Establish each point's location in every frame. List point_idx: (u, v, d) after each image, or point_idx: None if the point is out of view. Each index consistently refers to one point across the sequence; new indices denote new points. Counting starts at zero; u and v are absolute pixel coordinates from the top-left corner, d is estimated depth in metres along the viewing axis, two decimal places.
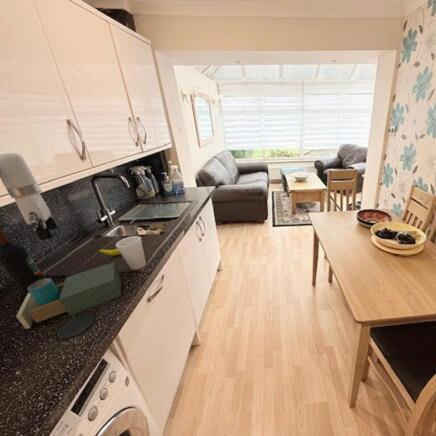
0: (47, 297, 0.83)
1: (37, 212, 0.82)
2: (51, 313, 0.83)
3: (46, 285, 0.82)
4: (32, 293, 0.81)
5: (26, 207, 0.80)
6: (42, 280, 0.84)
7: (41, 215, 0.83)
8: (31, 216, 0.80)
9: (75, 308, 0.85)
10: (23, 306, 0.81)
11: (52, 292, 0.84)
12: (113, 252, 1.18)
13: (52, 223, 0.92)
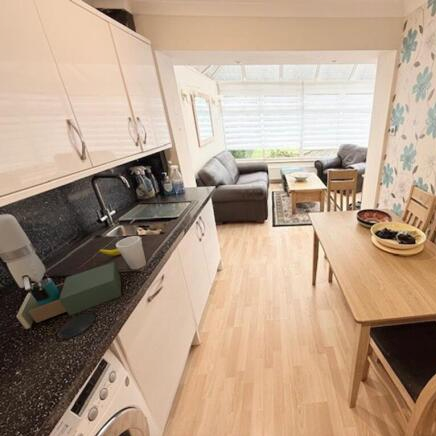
0: None
1: (30, 274, 0.77)
2: (51, 313, 0.83)
3: (46, 285, 0.82)
4: None
5: (19, 271, 0.75)
6: (42, 280, 0.84)
7: (35, 277, 0.78)
8: (25, 281, 0.76)
9: (75, 308, 0.85)
10: (23, 306, 0.81)
11: (52, 292, 0.84)
12: (113, 252, 1.18)
13: None
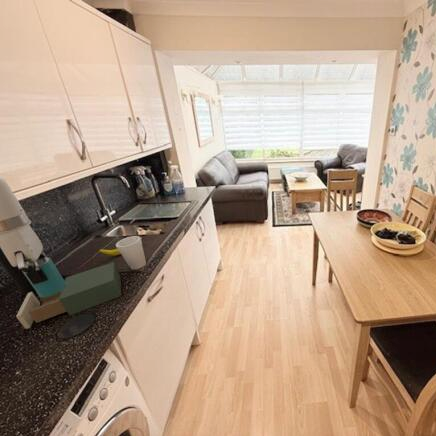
0: None
1: (25, 250, 0.64)
2: (51, 313, 0.83)
3: (44, 265, 0.69)
4: None
5: (10, 245, 0.62)
6: (39, 259, 0.71)
7: (31, 254, 0.65)
8: (19, 258, 0.63)
9: (75, 308, 0.85)
10: (23, 306, 0.81)
11: (51, 273, 0.71)
12: (113, 252, 1.18)
13: None
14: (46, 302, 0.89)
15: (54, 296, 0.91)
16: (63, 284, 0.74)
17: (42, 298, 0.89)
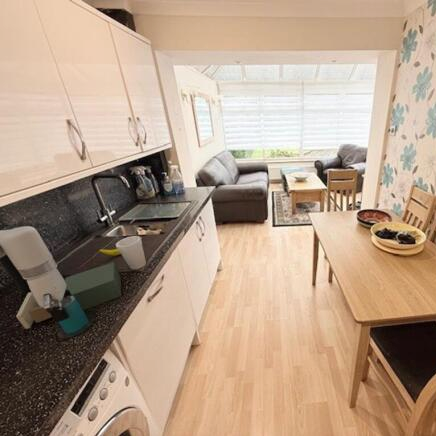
0: (70, 318, 0.76)
1: (52, 293, 0.70)
2: None
3: (69, 305, 0.75)
4: None
5: (40, 289, 0.68)
6: (64, 298, 0.77)
7: (57, 295, 0.71)
8: (45, 299, 0.68)
9: None
10: (23, 306, 0.81)
11: (75, 311, 0.77)
12: (113, 252, 1.18)
13: (67, 295, 0.80)
14: None
15: None
16: (85, 320, 0.80)
17: None
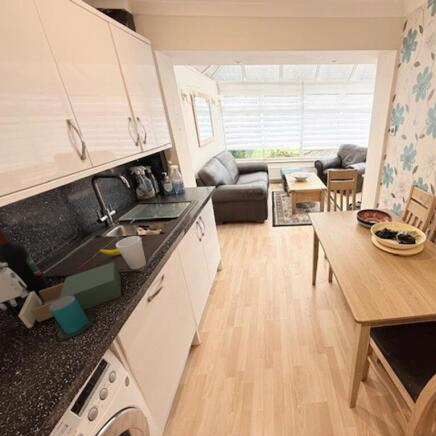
0: (70, 318, 0.76)
1: None
2: None
3: (69, 305, 0.75)
4: (55, 313, 0.74)
5: None
6: (64, 298, 0.77)
7: None
8: None
9: None
10: (25, 305, 0.81)
11: (75, 311, 0.77)
12: (113, 252, 1.18)
13: None
14: (48, 301, 0.89)
15: (56, 295, 0.91)
16: (85, 320, 0.80)
17: (44, 297, 0.89)
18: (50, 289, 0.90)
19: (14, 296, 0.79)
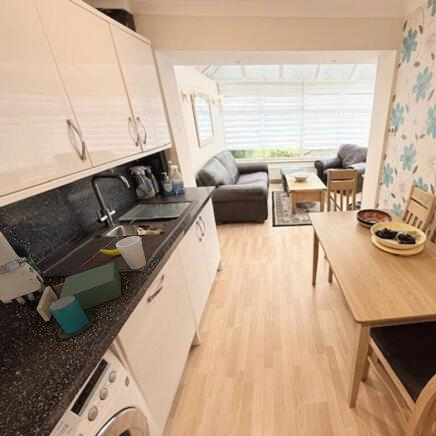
0: (70, 318, 0.76)
1: None
2: None
3: (69, 305, 0.75)
4: (55, 313, 0.74)
5: None
6: (64, 298, 0.77)
7: None
8: None
9: None
10: (42, 299, 0.83)
11: (75, 311, 0.77)
12: (113, 252, 1.18)
13: None
14: None
15: None
16: (85, 320, 0.80)
17: (59, 292, 0.91)
18: None
19: (32, 290, 0.81)
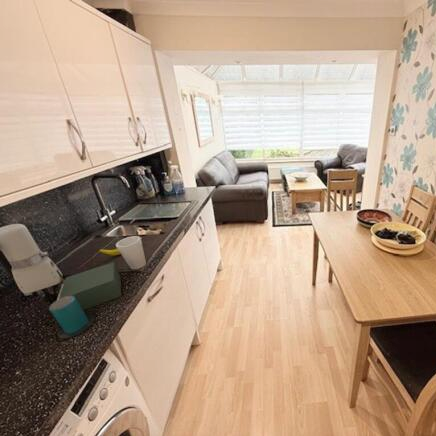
0: (70, 318, 0.76)
1: None
2: None
3: (69, 305, 0.75)
4: (55, 313, 0.74)
5: None
6: (64, 298, 0.77)
7: (20, 289, 0.79)
8: None
9: None
10: None
11: (75, 311, 0.77)
12: (113, 252, 1.18)
13: None
14: None
15: None
16: (85, 320, 0.80)
17: None
18: None
19: (52, 284, 0.84)
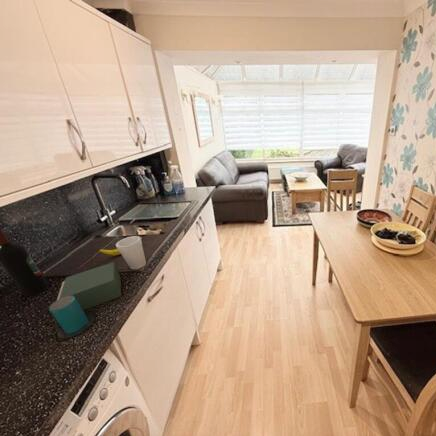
0: (70, 318, 0.76)
1: None
2: None
3: (69, 305, 0.75)
4: (55, 313, 0.74)
5: None
6: (64, 298, 0.77)
7: None
8: None
9: None
10: None
11: (75, 311, 0.77)
12: (113, 252, 1.18)
13: None
14: None
15: None
16: (85, 320, 0.80)
17: None
18: None
19: None
